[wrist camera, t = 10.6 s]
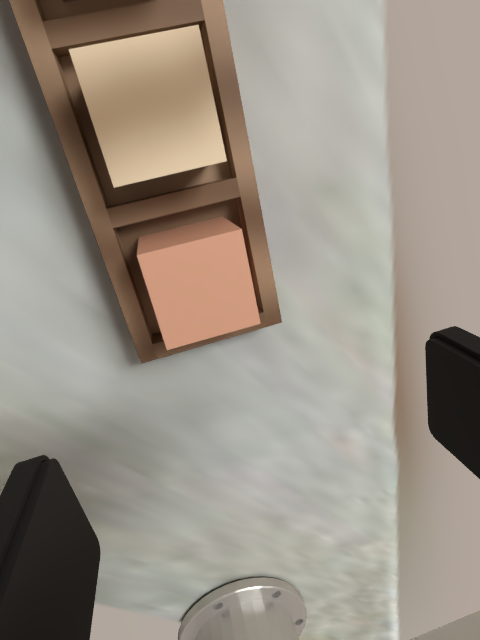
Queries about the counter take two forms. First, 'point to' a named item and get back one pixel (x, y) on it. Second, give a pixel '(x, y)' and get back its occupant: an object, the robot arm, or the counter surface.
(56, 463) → the robot arm
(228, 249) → the brick cube
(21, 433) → the counter surface
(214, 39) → the walnut tray
